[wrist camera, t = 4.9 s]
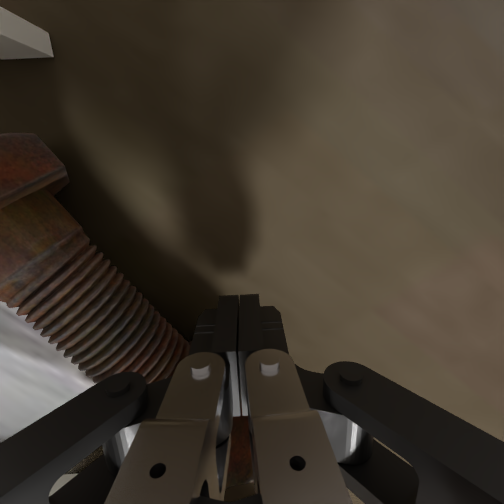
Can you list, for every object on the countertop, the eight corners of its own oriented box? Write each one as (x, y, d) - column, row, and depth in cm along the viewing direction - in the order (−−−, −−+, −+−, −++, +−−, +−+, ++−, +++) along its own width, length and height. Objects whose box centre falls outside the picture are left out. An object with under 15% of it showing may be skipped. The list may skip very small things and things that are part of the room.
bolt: (234, 400, 18) (18, 178, 14) (310, 398, 15) (64, 108, 10) (179, 525, 14) (-163, 263, 9) (268, 557, 11) (-176, 188, 6)
